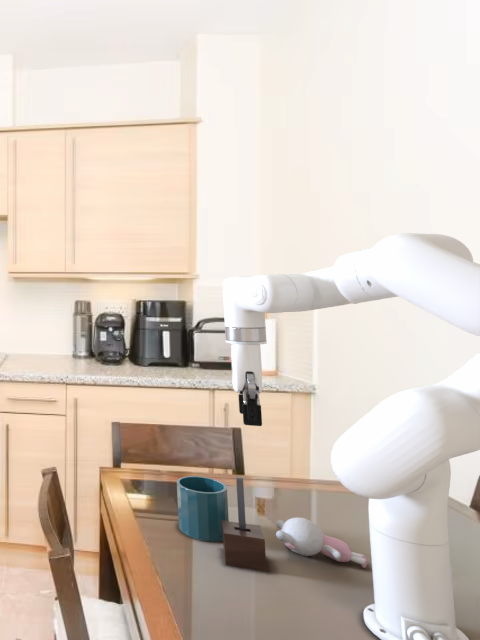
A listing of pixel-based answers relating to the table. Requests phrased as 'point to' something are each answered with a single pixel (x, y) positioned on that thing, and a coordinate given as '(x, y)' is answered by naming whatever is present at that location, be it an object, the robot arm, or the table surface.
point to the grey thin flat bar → (241, 504)
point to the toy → (314, 541)
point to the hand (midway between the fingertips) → (250, 419)
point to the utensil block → (244, 546)
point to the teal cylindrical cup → (202, 507)
